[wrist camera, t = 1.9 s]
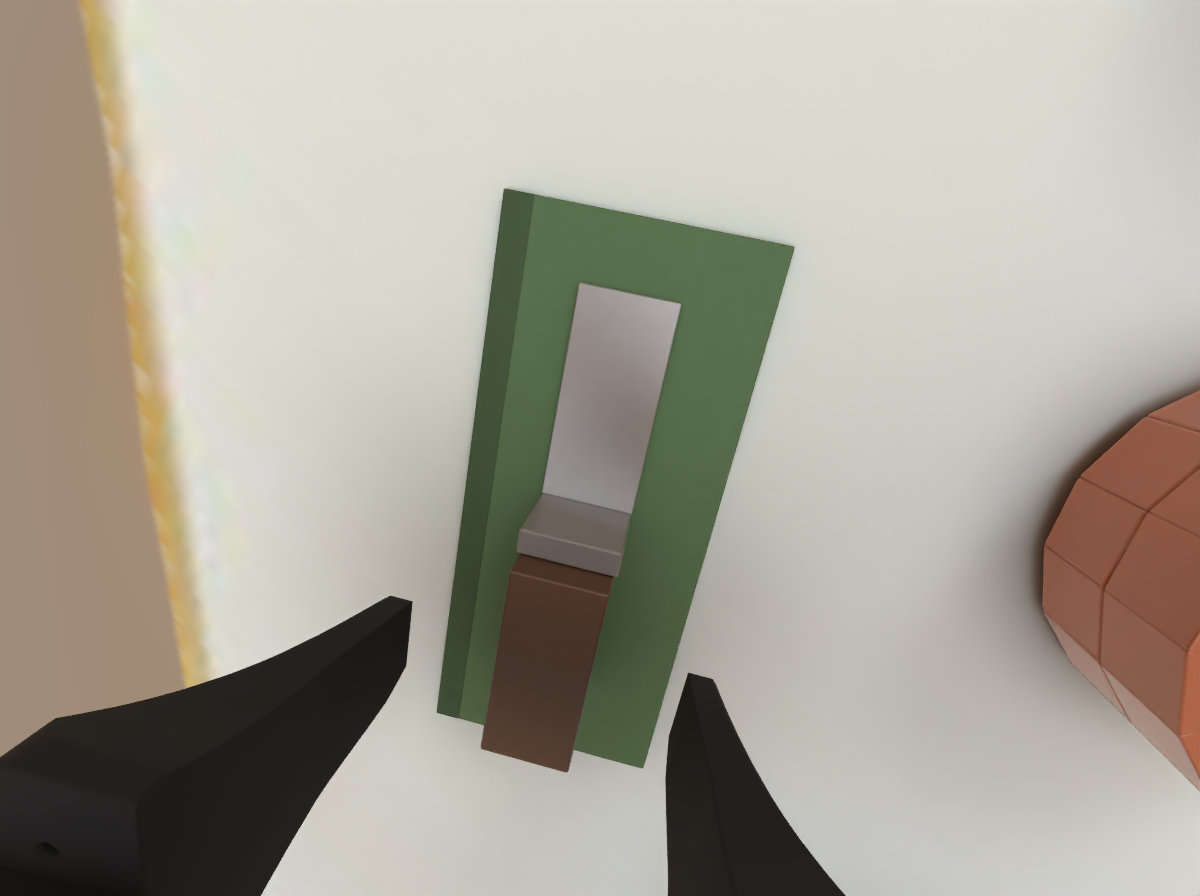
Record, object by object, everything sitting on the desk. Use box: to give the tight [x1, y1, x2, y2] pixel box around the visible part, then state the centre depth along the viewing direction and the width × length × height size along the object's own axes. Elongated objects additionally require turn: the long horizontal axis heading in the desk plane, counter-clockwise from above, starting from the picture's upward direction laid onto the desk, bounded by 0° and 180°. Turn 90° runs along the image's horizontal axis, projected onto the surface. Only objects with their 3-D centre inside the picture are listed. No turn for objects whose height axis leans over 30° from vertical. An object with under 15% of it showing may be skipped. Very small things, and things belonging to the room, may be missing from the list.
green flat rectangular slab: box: [437, 189, 794, 768], centre depth 16 cm, size 17×7×1 cm, turn 169°
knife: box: [481, 282, 681, 772], centre depth 14 cm, size 12×3×3 cm, turn 169°
